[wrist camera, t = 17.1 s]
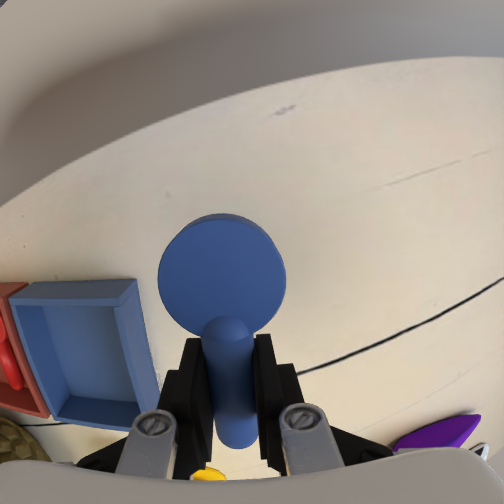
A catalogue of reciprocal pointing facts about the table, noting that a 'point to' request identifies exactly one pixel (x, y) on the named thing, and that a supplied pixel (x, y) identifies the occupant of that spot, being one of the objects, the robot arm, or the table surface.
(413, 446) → the crystal
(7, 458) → the decorative object
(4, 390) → the red bin
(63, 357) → the blue bin
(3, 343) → the red ping pong paddle
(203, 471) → the candle
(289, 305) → the table surface
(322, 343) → the table surface
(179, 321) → the blue spoon
